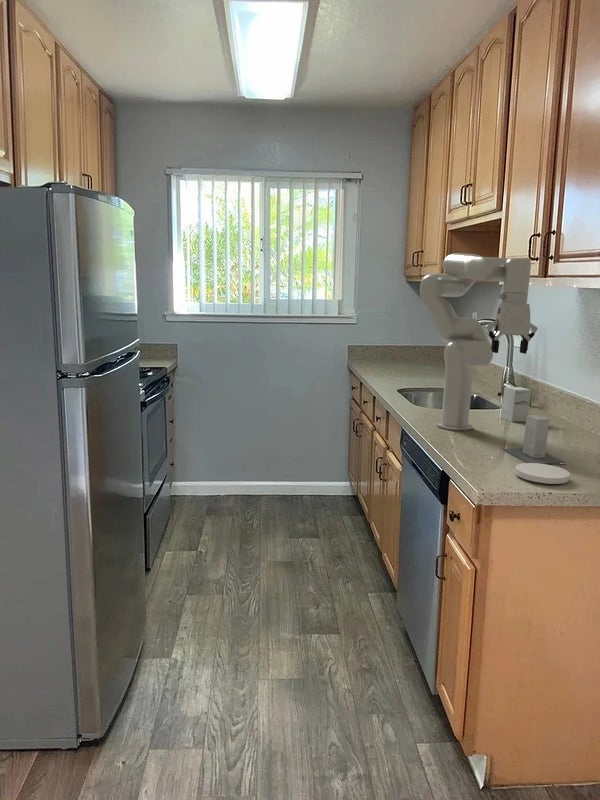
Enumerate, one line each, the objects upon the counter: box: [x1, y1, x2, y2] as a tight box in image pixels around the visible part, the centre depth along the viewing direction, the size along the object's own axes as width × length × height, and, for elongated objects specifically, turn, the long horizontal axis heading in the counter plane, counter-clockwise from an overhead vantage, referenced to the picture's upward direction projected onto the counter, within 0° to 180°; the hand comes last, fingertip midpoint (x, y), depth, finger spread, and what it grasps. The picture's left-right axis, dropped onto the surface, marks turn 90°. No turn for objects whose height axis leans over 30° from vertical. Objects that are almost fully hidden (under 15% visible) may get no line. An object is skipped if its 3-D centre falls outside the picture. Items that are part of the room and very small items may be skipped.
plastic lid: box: [514, 462, 571, 485], centre depth 175 cm, size 14×14×2 cm
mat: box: [502, 447, 567, 465], centre depth 196 cm, size 16×12×1 cm
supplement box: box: [500, 386, 532, 423], centre depth 249 cm, size 7×7×13 cm
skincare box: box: [522, 414, 550, 458], centre depth 195 cm, size 6×4×12 cm
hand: (508, 352), depth 204 cm, fingers open, 9 cm apart
